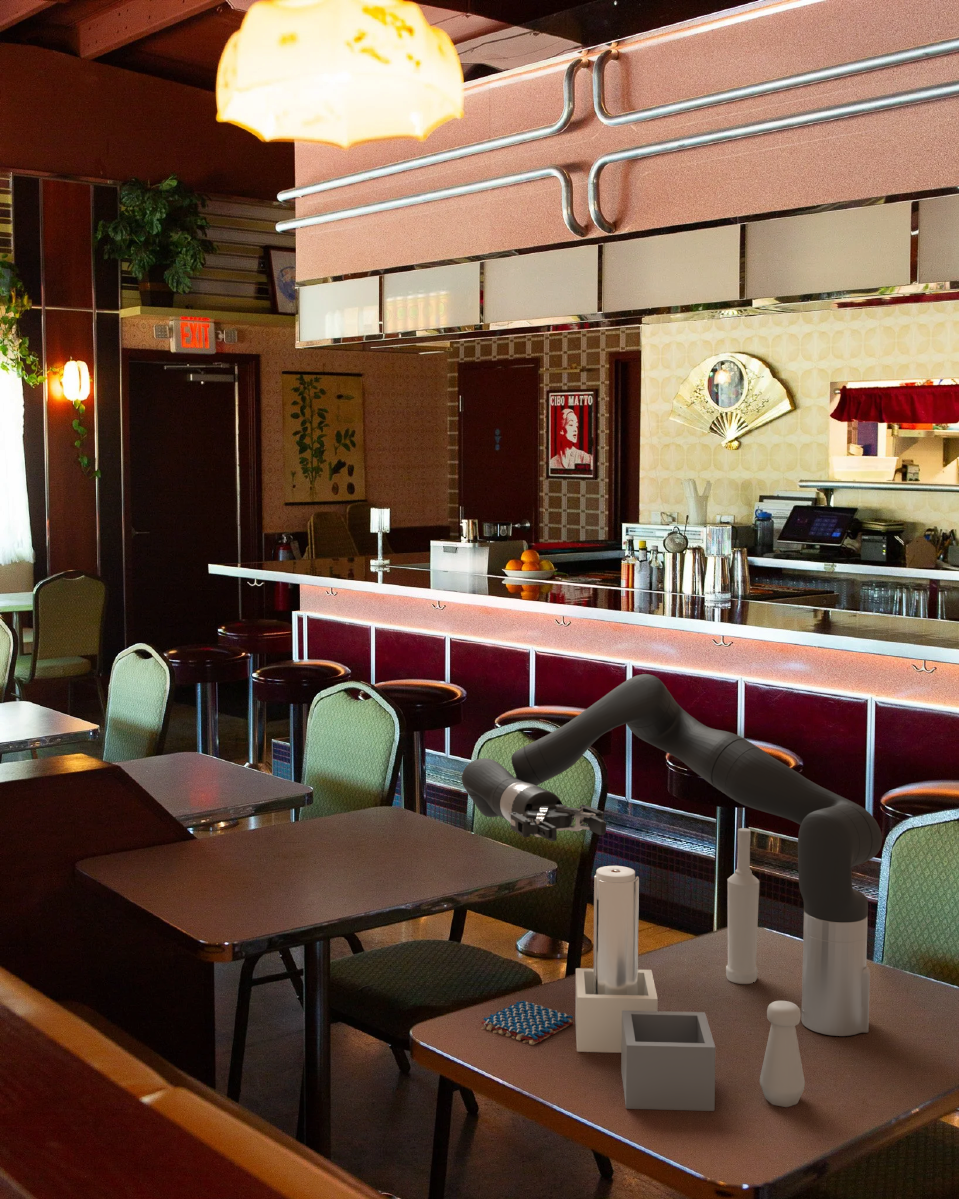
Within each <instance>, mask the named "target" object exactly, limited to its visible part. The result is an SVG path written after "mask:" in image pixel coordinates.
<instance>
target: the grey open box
mask: <svg viewBox="0 0 959 1199" xmlns="http://www.w3.org/2000/svg"><path fill="white" fill-rule="evenodd" d="M620 1054H621V1056H620V1057H621V1058H620V1059H621V1060H620V1061H621V1062H620V1063H621V1064H620V1072H621V1078H622V1087H623V1096H624V1104H625V1109H626V1110H627V1109H629V1110H633V1109H634V1110H663V1111H664V1110H665V1111H667V1110H668V1111H699V1112H700V1111H702V1112H703V1111H705V1112H715V1108H716V1106H715V1102H716V1101H715V1100H716V1096H715V1094H716V1093H715V1092H716V1044H715V1040H714V1039H713V1034H712V1032H711V1028H710V1025H709V1021H708V1017H707V1014H706V1012H705V1011H667V1010H666V1011H664V1010H663V1011H661V1010H658V1011H626V1010H622V1040H621V1053H620Z"/></svg>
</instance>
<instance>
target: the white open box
mask: <svg viewBox="0 0 959 1199" xmlns="http://www.w3.org/2000/svg"><path fill="white" fill-rule="evenodd" d="M593 971H594V968H588V967H587V968H583V967H577V968H575V1010H574V1011H575V1014H574V1016H575V1019H574V1020H575V1037H576V1038H575V1039H576V1041H575V1042H576V1052H577V1053H581V1052H584V1053H620V1054H621V1040H622V1010H626V1011H659V1010H658V1006H659V1003H658V1002H659V999H658V994H657V989H656V985H655V984H656V983H655V981H654V976H653V971H652V969H638V995H595V994H593Z"/></svg>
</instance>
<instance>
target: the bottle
mask: <svg viewBox="0 0 959 1199" xmlns="http://www.w3.org/2000/svg"><path fill="white" fill-rule="evenodd" d="M750 864H751V829H750V828H746V827H744V828H743V827H741V828H738V829H737V868H736V869H735V872H734V873H733V874H732V875H730V876H729V877H728V878H727V965H726V966H725V976H726V979H727V980H728V981H729V982H732V983H735V984H740V985H749V984H754V983H755V982H756V981H757V979H758V967H757V949H758V948H757V946H758V945H757V944H758V924H759V923H758V922H759V920H758V919H759V901H760V900H759V896H760V879H758V878H757V877H756V876H755V875H753V873H752V872H753V871H752V870H751V869H750V868H751V867H750ZM753 982H754V983H753Z"/></svg>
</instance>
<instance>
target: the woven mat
mask: <svg viewBox="0 0 959 1199" xmlns="http://www.w3.org/2000/svg"><path fill="white" fill-rule="evenodd" d="M573 1018H574V1016H572V1015H568V1014H566V1012H558V1010H557V1009H551V1008H548V1007H544V1006H543V1005H538V1004H535V1003H534V1002H533V1003H532V1002H528V1001H525V1000H521V1001H518V1000H517V1001H516V1002H515V1004H513V1005H512V1004H510V1005H509V1007H504V1008H502V1010H500V1011H499V1010H498V1011H497V1012H496V1013H493V1014H492V1013H491V1014H490V1015H489V1016H488V1017H486V1016H485V1017H483V1020H482V1021H481V1025H484V1026H482V1027H481V1030H484V1029H486V1030H487V1031H490V1032H491V1031H492V1033H493V1034H496V1033H498V1034H499V1035H504V1034H505V1036H506V1037H511V1038H512V1039H515V1040H517V1041H522V1040H523V1041H522V1043H523V1044H525V1043H528V1044H529V1045H531V1046H533V1045H536V1044H537V1043H541V1042H542V1041H543V1040H545V1039H547V1038H549V1037H550V1036H553V1035H554V1034H556V1033H558V1032H560V1031H562V1030H563V1029H565V1028H567V1027H568V1026H569V1025H570V1026H573V1024H574V1021H573Z"/></svg>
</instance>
